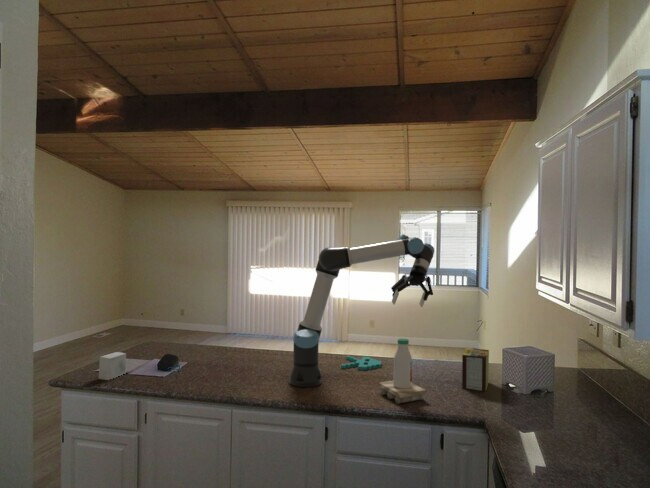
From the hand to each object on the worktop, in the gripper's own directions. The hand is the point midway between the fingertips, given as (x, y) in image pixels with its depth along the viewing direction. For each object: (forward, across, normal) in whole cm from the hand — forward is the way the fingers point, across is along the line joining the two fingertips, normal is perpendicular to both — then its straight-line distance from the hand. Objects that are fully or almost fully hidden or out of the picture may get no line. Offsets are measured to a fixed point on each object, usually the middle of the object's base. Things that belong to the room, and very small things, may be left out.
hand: (406, 304), depth 196 cm
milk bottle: (+34, -5, -14) cm, 36 cm away
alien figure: (+14, +33, -41) cm, 54 cm away
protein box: (+12, -26, -42) cm, 50 cm away
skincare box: (+77, +119, +24) cm, 144 cm away
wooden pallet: (+37, -4, -17) cm, 40 cm away
